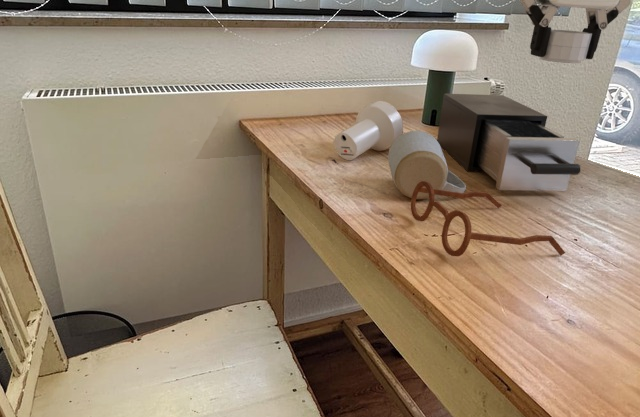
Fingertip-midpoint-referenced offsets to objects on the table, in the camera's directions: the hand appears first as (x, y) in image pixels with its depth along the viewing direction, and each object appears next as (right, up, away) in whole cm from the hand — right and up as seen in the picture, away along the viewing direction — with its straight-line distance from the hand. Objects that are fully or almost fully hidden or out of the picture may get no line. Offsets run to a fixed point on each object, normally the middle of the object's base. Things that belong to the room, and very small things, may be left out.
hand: (561, 55), depth 71 cm
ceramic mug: (-20, -20, -2) cm, 29 cm away
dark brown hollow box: (-7, -13, +14) cm, 20 cm away
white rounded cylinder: (0, -1, 0) cm, 1 cm away
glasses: (-16, -25, -14) cm, 33 cm away
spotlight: (-27, -13, +12) cm, 32 cm away
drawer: (-6, -18, +2) cm, 19 cm away
